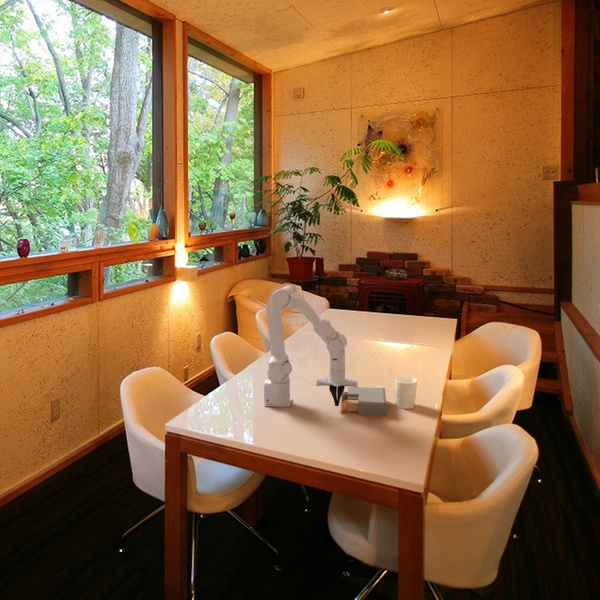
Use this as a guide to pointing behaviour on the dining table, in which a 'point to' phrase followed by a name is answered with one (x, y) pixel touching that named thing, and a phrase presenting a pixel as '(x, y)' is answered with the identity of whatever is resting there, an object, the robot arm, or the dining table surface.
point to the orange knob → (349, 405)
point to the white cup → (405, 392)
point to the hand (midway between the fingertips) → (337, 405)
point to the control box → (369, 400)
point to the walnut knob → (344, 395)
